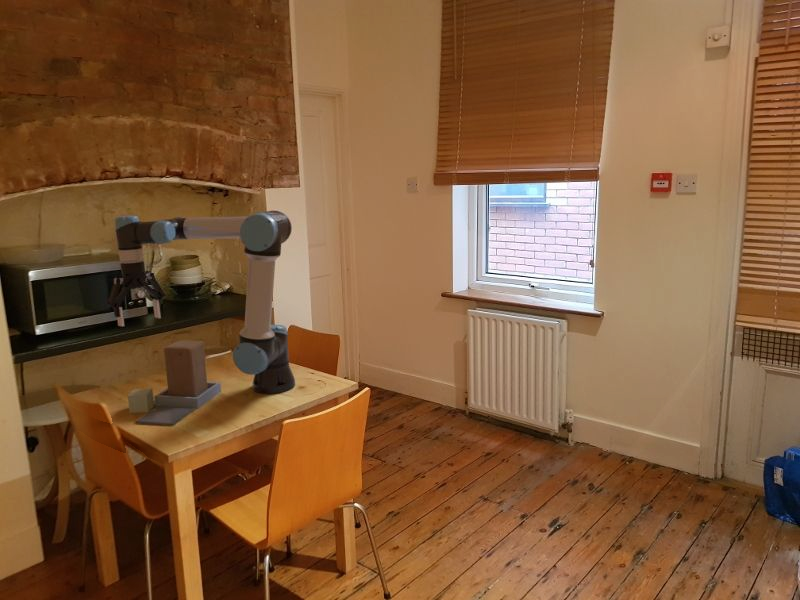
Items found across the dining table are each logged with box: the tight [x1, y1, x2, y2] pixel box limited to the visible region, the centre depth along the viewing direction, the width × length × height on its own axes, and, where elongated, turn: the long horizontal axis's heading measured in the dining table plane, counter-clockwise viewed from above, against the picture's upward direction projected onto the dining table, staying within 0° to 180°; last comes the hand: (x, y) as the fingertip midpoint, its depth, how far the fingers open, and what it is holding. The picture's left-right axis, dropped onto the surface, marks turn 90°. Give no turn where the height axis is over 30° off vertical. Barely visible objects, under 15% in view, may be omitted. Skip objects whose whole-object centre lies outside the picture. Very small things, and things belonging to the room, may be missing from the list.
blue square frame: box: [153, 381, 222, 409], centre depth 215 cm, size 16×16×4 cm
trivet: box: [135, 406, 196, 427], centre depth 200 cm, size 13×13×1 cm
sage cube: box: [127, 388, 155, 414], centre depth 206 cm, size 6×6×6 cm
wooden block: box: [163, 339, 208, 397], centre depth 213 cm, size 10×10×20 cm
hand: (140, 321), depth 215 cm, fingers open, 13 cm apart
